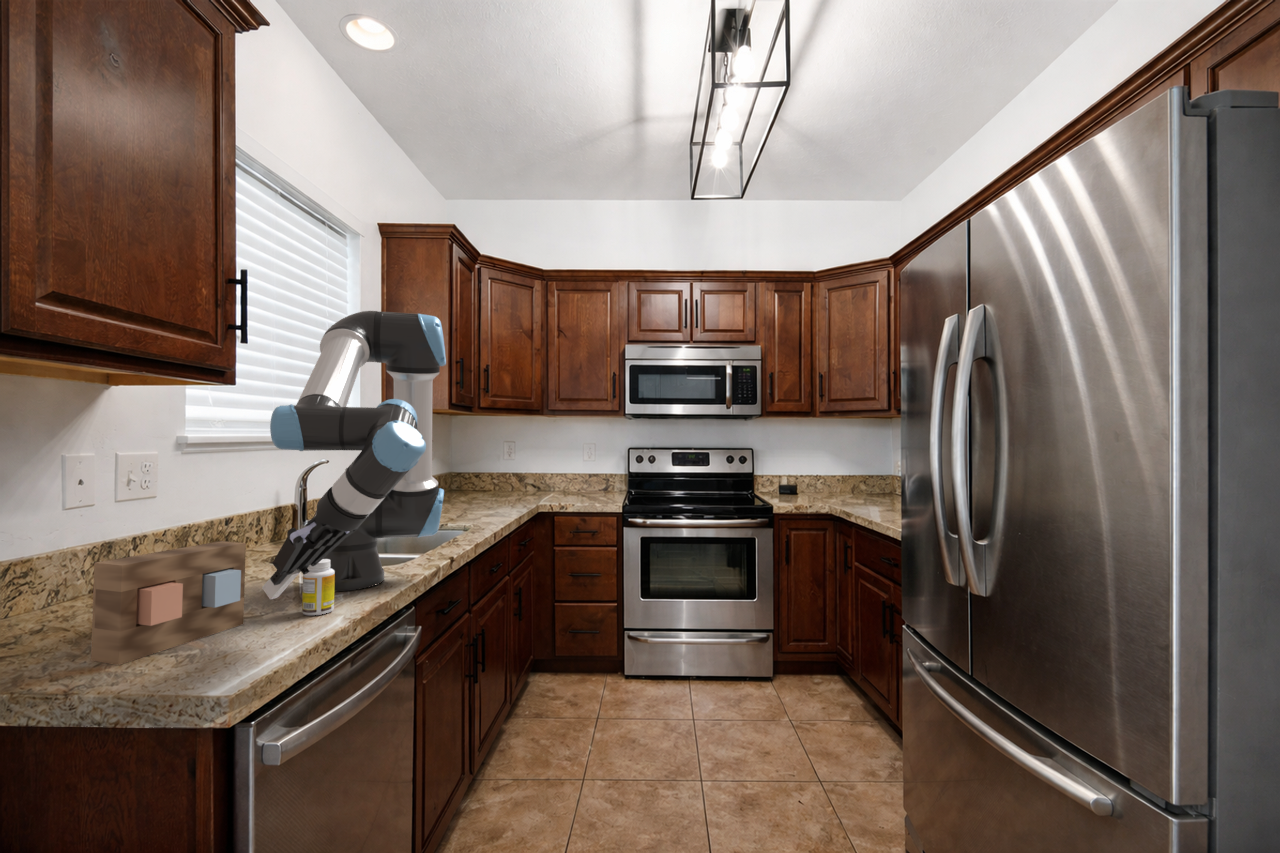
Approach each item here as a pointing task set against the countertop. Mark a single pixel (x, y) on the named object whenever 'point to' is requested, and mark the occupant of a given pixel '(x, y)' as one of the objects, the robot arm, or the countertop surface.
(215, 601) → the slate button
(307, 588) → the supplement bottle
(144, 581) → the brown wooden block
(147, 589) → the terracotta button
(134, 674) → the countertop surface
